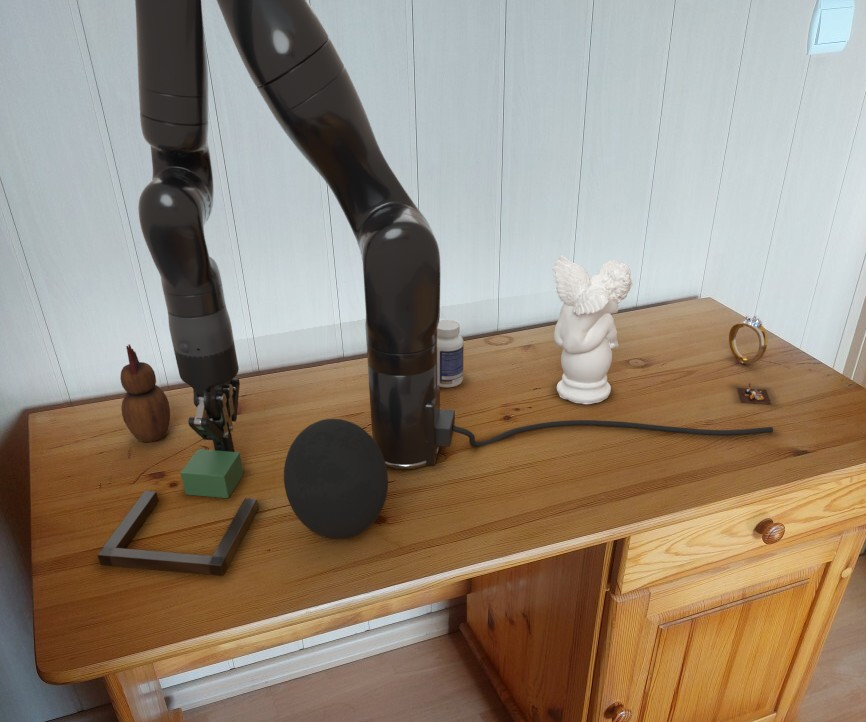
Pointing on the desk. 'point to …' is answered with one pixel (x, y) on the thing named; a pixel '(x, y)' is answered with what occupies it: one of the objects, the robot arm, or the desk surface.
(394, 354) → the robot arm
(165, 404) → the wooden figurine
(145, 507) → the frame
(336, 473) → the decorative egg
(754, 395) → the diorama
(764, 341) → the ring
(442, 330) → the pill bottle
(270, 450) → the desk surface
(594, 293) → the cherub figurine
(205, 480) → the green block
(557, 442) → the desk surface
